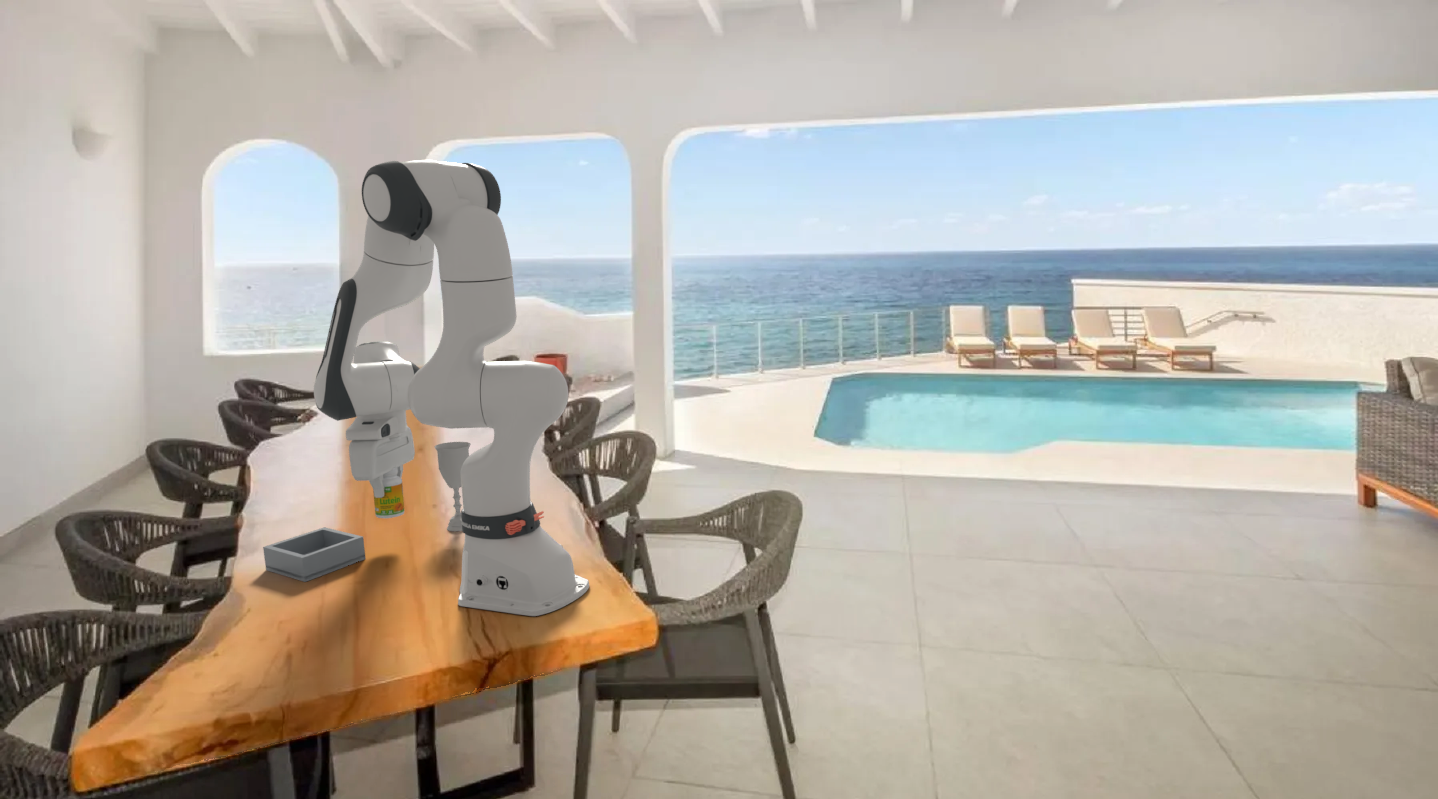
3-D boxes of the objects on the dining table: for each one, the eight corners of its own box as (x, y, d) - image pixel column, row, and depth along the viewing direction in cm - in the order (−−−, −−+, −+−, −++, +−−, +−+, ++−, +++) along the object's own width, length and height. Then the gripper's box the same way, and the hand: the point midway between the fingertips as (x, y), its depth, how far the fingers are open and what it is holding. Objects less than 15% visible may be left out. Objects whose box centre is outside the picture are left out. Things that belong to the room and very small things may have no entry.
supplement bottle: (378, 520, 146) (374, 471, 145) (373, 514, 151) (368, 467, 149) (407, 515, 149) (403, 467, 148) (401, 509, 154) (397, 463, 152)
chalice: (436, 532, 157) (428, 449, 154) (448, 522, 164) (441, 441, 161) (470, 532, 157) (463, 449, 154) (481, 521, 163) (475, 441, 160)
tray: (365, 559, 143) (363, 536, 142) (305, 582, 133) (302, 557, 132) (326, 548, 149) (324, 527, 148) (266, 570, 139) (263, 547, 138)
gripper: (390, 416, 158) (395, 480, 160) (340, 433, 138) (347, 506, 139) (419, 415, 158) (424, 479, 160) (374, 432, 137) (380, 505, 139)
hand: (388, 492), depth 149 cm, fingers closed on supplement bottle, 5 cm apart
